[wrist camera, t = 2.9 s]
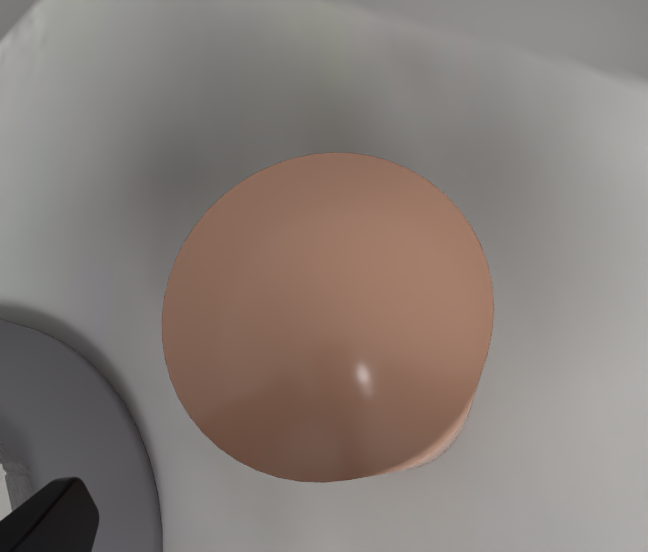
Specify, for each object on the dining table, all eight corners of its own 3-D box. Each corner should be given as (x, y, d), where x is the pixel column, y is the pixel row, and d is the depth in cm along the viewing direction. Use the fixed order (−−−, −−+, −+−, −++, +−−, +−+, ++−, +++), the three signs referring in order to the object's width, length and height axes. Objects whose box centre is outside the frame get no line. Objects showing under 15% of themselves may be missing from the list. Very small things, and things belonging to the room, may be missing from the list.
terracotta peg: (501, 368, 18) (562, 247, 8) (415, 504, 18) (362, 564, 7) (371, 288, 20) (284, 105, 10) (288, 410, 19) (100, 351, 9)
